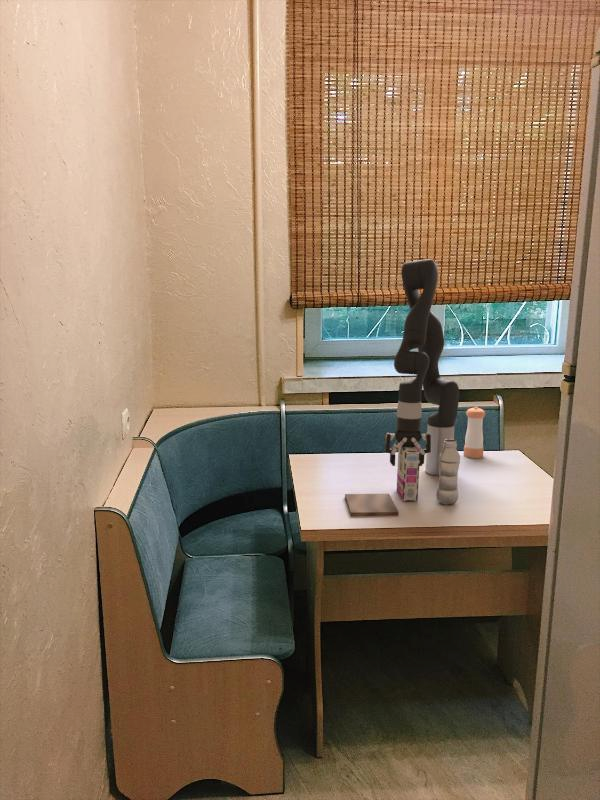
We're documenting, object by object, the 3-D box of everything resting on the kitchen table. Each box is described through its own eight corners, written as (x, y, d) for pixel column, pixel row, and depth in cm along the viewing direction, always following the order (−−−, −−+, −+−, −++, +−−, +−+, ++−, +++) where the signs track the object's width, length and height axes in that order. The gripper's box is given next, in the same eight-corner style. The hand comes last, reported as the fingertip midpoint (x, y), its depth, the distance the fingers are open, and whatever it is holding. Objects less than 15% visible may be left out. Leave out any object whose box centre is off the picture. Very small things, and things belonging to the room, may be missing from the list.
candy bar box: (418, 501, 217) (421, 451, 214) (402, 502, 217) (404, 451, 213) (411, 490, 228) (413, 441, 225) (396, 490, 228) (397, 441, 224)
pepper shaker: (464, 457, 264) (466, 408, 260) (462, 452, 271) (465, 404, 267) (483, 458, 263) (486, 409, 259) (482, 453, 270) (485, 404, 266)
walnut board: (388, 497, 221) (389, 493, 221) (398, 515, 206) (398, 511, 205) (344, 497, 220) (344, 494, 220) (350, 516, 205) (350, 512, 205)
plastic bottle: (433, 499, 219) (436, 438, 215) (454, 499, 220) (457, 437, 215) (439, 507, 213) (442, 443, 209) (460, 506, 213) (464, 443, 209)
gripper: (429, 412, 221) (426, 462, 224) (384, 412, 221) (382, 461, 224) (434, 418, 214) (431, 469, 217) (388, 417, 213) (386, 468, 216)
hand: (406, 465), depth 220 cm, fingers open, 8 cm apart
